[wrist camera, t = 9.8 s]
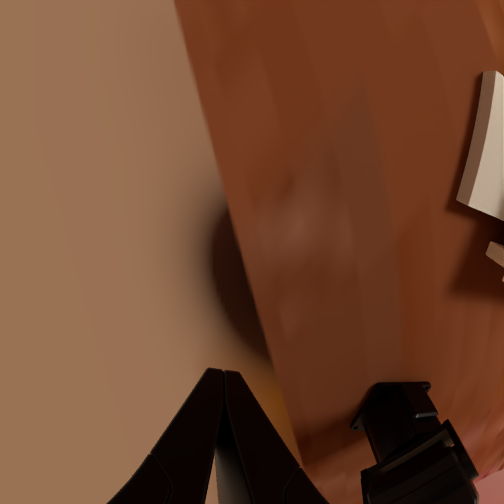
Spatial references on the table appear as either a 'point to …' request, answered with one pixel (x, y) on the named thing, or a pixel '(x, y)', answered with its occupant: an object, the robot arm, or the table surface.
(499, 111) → the pale wall plate
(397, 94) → the table surface
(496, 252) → the cream rectangular slab
